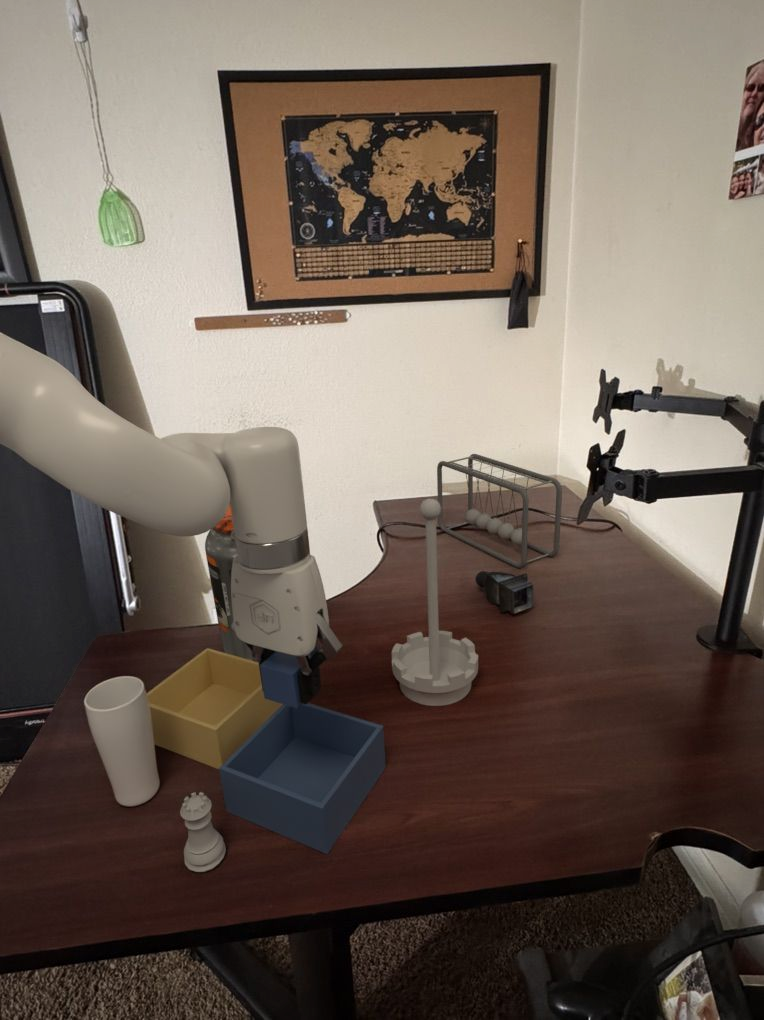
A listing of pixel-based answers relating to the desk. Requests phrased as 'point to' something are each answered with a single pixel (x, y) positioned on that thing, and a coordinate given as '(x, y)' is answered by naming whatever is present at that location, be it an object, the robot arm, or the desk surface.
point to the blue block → (281, 679)
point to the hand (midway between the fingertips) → (291, 689)
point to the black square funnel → (507, 590)
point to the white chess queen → (201, 835)
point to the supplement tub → (224, 583)
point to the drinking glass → (124, 737)
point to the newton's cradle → (495, 524)
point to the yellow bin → (209, 707)
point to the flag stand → (434, 643)
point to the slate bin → (304, 773)
